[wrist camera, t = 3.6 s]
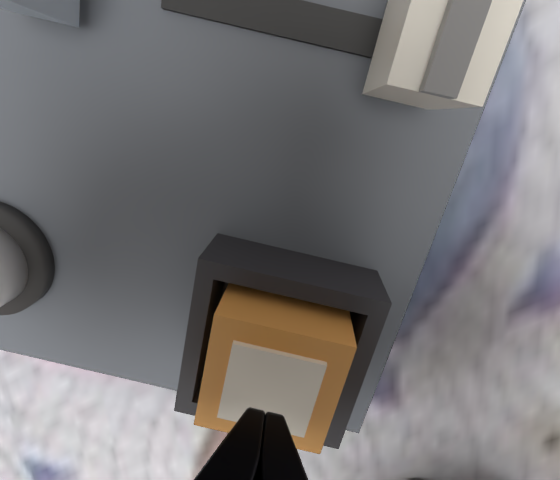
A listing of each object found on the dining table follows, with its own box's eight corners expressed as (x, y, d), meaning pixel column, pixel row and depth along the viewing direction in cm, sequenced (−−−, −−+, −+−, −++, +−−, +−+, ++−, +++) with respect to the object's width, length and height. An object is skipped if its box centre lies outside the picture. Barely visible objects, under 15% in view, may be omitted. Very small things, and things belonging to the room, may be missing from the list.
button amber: (344, 289, 12) (357, 351, 9) (317, 376, 13) (320, 459, 10) (237, 264, 12) (212, 317, 9) (220, 353, 13) (192, 429, 10)
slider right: (468, -12, 9) (566, -89, 5) (428, 109, 10) (490, 106, 6) (396, -29, 9) (449, -117, 5) (362, 94, 10) (390, 82, 6)
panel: (507, -34, 11) (628, -124, 7) (352, 395, 16) (367, 488, 12) (-30, -161, 11) (-235, -328, 7) (-6, 311, 16) (-111, 377, 12)
